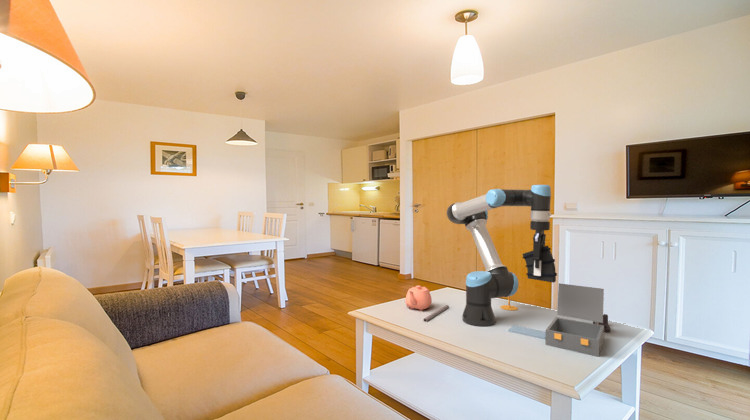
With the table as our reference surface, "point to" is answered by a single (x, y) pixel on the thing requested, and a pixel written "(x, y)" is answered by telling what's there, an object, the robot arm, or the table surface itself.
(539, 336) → the mat
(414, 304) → the pink rounded piece
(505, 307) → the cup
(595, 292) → the lid
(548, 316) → the table surface
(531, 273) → the magazine
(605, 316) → the bracket
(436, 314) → the metal rod
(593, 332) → the case
